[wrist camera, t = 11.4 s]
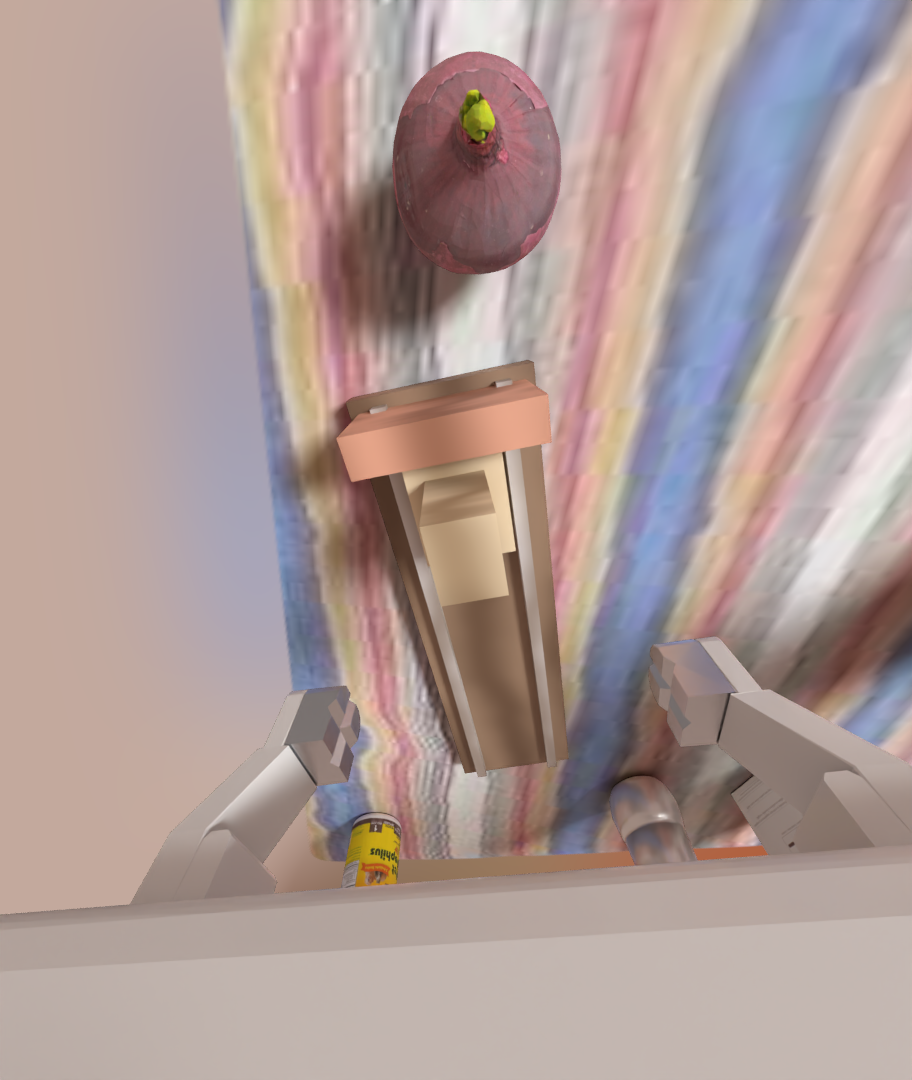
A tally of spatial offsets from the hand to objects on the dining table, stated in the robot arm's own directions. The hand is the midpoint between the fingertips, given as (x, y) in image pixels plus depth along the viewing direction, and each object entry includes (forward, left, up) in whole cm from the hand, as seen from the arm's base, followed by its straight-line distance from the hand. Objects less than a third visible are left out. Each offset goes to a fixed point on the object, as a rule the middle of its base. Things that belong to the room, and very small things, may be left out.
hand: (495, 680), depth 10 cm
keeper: (+1, 0, -14) cm, 14 cm away
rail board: (+1, +12, -16) cm, 20 cm away
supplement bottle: (+18, +39, -16) cm, 46 cm away
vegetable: (-2, -13, -16) cm, 21 cm away
